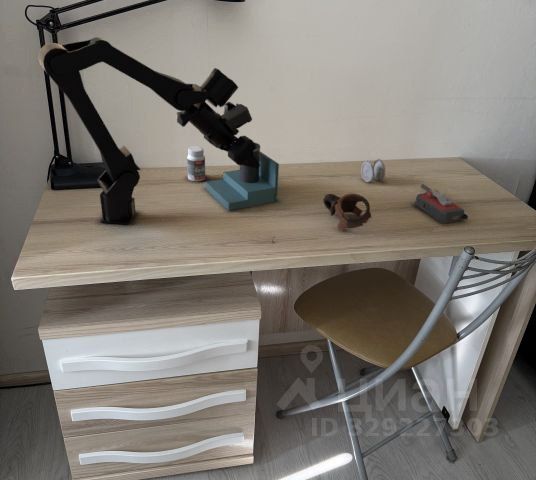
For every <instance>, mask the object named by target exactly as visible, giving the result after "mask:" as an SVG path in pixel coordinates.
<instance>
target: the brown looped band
mask: <svg viewBox="0 0 536 480" xmlns="http://www.w3.org/2000/svg"><path fill="white" fill-rule="evenodd" d="M322 201H323V205H324V207H325V208H326V209H327V210H328V212H329V213H330V214H329V215H330V216H331V217H333V216H334V215H335V214H336V216H337V218H338V219H339V222H338V224H337V229H339V230H340V231H342V232H343V231H345V230H346V229H348V230H349V229H354V228H359V227H362V226H364V224H367V223H368V221H369V220H370V219H371V218H372V213H371V205H370V202H369V200H368V199H367V198H365V197H364V196H362V195H360V194H358V193H345V194H344V195H342V196H341V197H340V196H337V195H336V194H333V193H327V194H325V195H324V197H323V198H322ZM360 202H362V203H363V204H364V205H365V212H364V213H363V210H362V209H361V208H360V207H358V206H357V204H358V203H360ZM347 213H349V214H353V215H356V216H351V215H347V217H345V216H344V214H347ZM362 213H363V214H362Z"/></svg>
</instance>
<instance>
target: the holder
mask: <svg viewBox="0 0 536 480" xmlns="http://www.w3.org/2000/svg"><path fill="white" fill-rule="evenodd" d="M254 143H255V144H256V148H255V149H254V151H253V153H254V155H255V157H256V159H257V160H258V162H259V161H260V152H261V145H260V143H257V142H254ZM239 170H240V180H241V181H242V182H245V183H255V182H257V181H258V180H259V168H258V169H256V168H252V167H248V166H244V165H239Z"/></svg>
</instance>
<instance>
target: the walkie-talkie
mask: <svg viewBox="0 0 536 480" xmlns="http://www.w3.org/2000/svg"><path fill="white" fill-rule="evenodd" d="M420 188H421V189H423V190H424V191H426V192H423V193H418V194H416V196H415V203H414V205H415V206H416V207H417V208H418V209H420V210H422V211H423V212H425V213H426V214H427V215H429V216H430V217H432V218H433V219H435V220H436V221H437V222H439V223H441V224H450V223H451V224H452V223H457V222H461V221H463V220H465V221H467V220H468V219H469V215H468V214H466V213H465V209H464V208H462V207H461V206H459V205H458V204H456V203H455V201H454V199H453V198H452V197H450V196H448V195H447V194H446V193H441V192H439V191H438V190H436V189H432V188H431V187H428V186H427V185H425V184H424V183H422V184H420Z"/></svg>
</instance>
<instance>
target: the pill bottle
mask: <svg viewBox="0 0 536 480" xmlns="http://www.w3.org/2000/svg"><path fill="white" fill-rule="evenodd" d="M204 153H205V151H204V148H203V147H202V146H198V145H197V146H196V145H195V146H194V145H193V146H189V147H188V148H187V154H188V155H187V157H186V160H187V161H186V163H187V164H186V167H187V179H188V180H189V181H192V182H201V181H204V180H206V156H205V155H204Z"/></svg>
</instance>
